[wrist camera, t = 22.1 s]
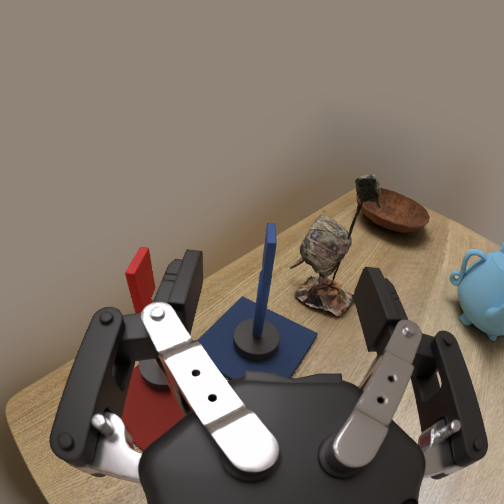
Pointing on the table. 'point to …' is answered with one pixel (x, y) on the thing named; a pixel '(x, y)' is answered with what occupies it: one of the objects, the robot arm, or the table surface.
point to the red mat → (148, 411)
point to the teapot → (482, 291)
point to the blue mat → (233, 365)
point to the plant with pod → (331, 254)
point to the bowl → (396, 212)
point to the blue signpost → (260, 312)
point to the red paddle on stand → (141, 294)
